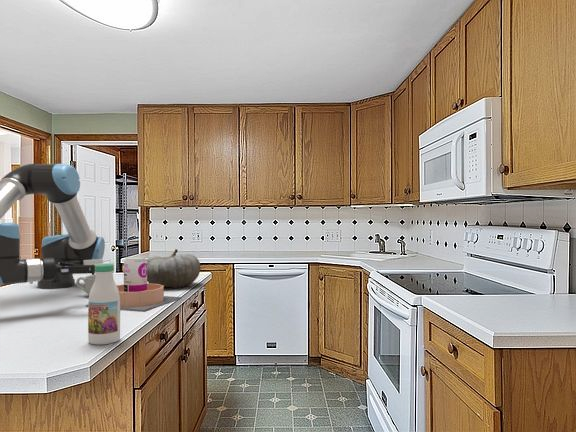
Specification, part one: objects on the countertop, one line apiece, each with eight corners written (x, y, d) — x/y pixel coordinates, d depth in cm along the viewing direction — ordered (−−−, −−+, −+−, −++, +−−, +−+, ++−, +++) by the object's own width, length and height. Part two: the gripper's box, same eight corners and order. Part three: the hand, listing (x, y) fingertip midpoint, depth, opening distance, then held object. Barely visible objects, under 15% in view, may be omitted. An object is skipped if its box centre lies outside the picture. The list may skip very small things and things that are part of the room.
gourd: (195, 285, 191) (189, 244, 193) (137, 295, 191) (131, 254, 193) (207, 282, 216) (202, 246, 217) (156, 291, 216) (151, 255, 218)
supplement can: (151, 297, 170) (151, 257, 170) (137, 301, 163) (137, 259, 163) (133, 295, 173) (133, 256, 173) (118, 299, 165) (118, 258, 165)
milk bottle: (94, 337, 122) (94, 263, 121) (123, 336, 122) (123, 262, 122) (83, 345, 114) (83, 266, 114) (115, 345, 115) (115, 266, 114)
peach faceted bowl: (128, 295, 183) (128, 281, 183) (181, 298, 176) (181, 284, 176) (85, 307, 160) (85, 291, 160) (144, 311, 153) (144, 295, 153)
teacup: (118, 293, 186) (118, 274, 186) (105, 298, 176) (104, 278, 176) (86, 293, 188) (86, 273, 188) (70, 298, 177) (70, 277, 177)
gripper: (34, 276, 158) (98, 271, 171) (48, 286, 139) (119, 279, 152) (34, 255, 158) (98, 251, 171) (48, 262, 139) (119, 257, 152)
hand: (108, 264), depth 162 cm, fingers open, 13 cm apart
